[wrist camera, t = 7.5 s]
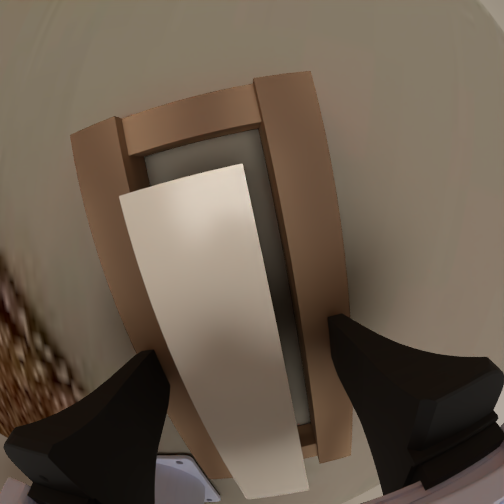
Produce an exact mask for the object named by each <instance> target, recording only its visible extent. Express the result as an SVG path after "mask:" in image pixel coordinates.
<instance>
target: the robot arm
mask: <svg viewBox="0 0 504 504" xmlns="http://www.w3.org/2000/svg"><path fill="white" fill-rule="evenodd" d="M327 319H328V329H329V339H330V350H331V358H332V361H333V364H334V367H335V370H336V372H337V375H338V377H339V379H340V381H341V383H342V385H343V387H344V389H345V391H346V393H347V395H348V397H349V399H350V401H351V403H352V405H353V407H354V409H355V411H356V413H357V415H358V417H359V419H360V421H361V424H362V427H363V429H364V432H365V435H366V438H367V441H368V444H369V447H370V450H371V453H372V456H373V459H374V463H375V466H376V470H377V473H378V477H379V480H380V484H381V488H382V492H383V496H382V497H379V498H376V499H373V500H370V501H367V502H364V503H361V504H504V423H503V424H502V425H501V427H499V425H498V424H497V423H496V421H497V419H498V415H497V414H496V413H495V412H494V410H493V409H494V407H495V405H496V403H497V401H498V398H499V396H500V394H501V391H502V388H503V385H504V374H503V372H502V371H501V370H500V369H499V368H498V367H497V366H496V365H495V364H494V363H493V362H492V361H491V360H490V359H489V358H487V357H457V356H448V355H441V354H435V353H430V352H426V351H421V350H418V349H414V348H411V347H408V346H405V345H402V344H399V343H397V342H394V341H392V340H390V339H388V338H385V337H383V336H381V335H379V334H377V333H375V332H373V331H371V330H370V329H368V328H366V327H364V326H362V325H361V324H359V323H357V322H356V321H354V320H352V319H351V318H349V317H347V316H346V315H344V314H342V313H341V314H337V315H333V316H330V317H327ZM169 397H170V383H169V381H168V379H167V377H166V375H165V373H164V371H163V369H162V366H161V364H160V362H159V360H158V357H157V355H156V353H155V351H154V349H153V350H145V351H141V352H139V353H138V354H136V355H135V356H134V357H133V358H132V359H131V360H129V361H128V362H127V363H126V364H125V365H124V366H123V367H122V368H120V369H119V370H118V371H117V372H116V373H115V374H114V375H113V376H111V377H110V378H109V379H108V380H107V381H105V382H104V383H103V384H102V385H101V386H99V387H98V388H97V389H96V390H94V391H93V392H92V393H90V394H89V395H88V396H86V397H85V398H83V399H82V400H80V401H78V402H77V403H75V404H73V405H72V406H70V407H68V408H66V409H64V410H62V411H61V412H59V413H57V414H54V415H52V416H50V417H47V418H45V419H42V420H39V421H37V422H33V423H30V424H26V425H23V426H19V427H16V428H15V429H14V430H13V431H12V433H11V434H10V436H9V437H8V439H7V441H6V442H5V444H4V450H5V452H6V454H7V455H8V457H9V458H10V459H11V461H12V462H13V463H14V464H15V465H16V466H17V467H18V468H19V469H20V470H21V471H22V472H23V473H24V474H25V475H26V476H27V477H28V478H29V479H30V480H32V482H33V484H32V486H31V487H30V486H28V485H27V484H25V483H23V482H21V481H19V480H16V479H14V478H12V477H8V479H7V480H6V482H5V484H4V486H3V488H2V490H1V492H0V504H204V502H218V501H220V500H221V497H220V495H219V494H218V493H217V491H216V490H215V489H214V487H213V486H212V485H211V483H210V482H209V481H208V479H207V478H206V477H205V475H204V474H203V472H202V471H201V470H200V468H199V467H198V465H197V464H196V462H195V461H194V459H193V458H192V457H190V456H187V455H157V452H158V446H159V442H160V438H161V434H162V430H163V426H164V422H165V418H166V414H167V410H168V405H169Z"/></svg>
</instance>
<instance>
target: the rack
mask: <svg viewBox="0 0 504 504" xmlns="http://www.w3.org/2000/svg"><path fill="white" fill-rule="evenodd" d="M253 129H259V133H260V138H261V143H262V147H263V152H264V157H265V161H266V166H267V171H268V176H269V181H270V185H271V190H272V195H273V200H274V205H275V211H276V216H277V221H278V226H279V231H280V236H281V242H282V247H283V253H284V258H285V263H286V269H287V275H288V280H289V286H290V292H291V297H292V303H293V309H294V315H295V321H296V327H297V333H298V339H299V346H300V352H301V358H302V365H303V371H304V378H305V385H306V392H307V399H308V406H309V413H310V420H311V423H310V424H305V425H301V426H297V429H298V434H299V439H300V444H301V450H302V455H303V459H305V458H309V457H314V456H318V459H319V463H324V462H328V461H332V460H336V459H340V458H343V457H347V456H350V455H351V442H352V411H353V405H352V403H351V401H350V399H349V397H348V395H347V393H346V391H345V389H344V387H343V385H342V383H341V381H340V379H339V377H338V375H337V372H336V370H335V367H334V364H333V361H332V358H331V350H330V339H329V329H328V319H327V317H330V316H333V315H337V314H341V313H342V314H344V315H346V316H347V317H349V318H350V306H349V293H348V281H347V271H346V261H345V252H344V244H343V236H342V228H341V220H340V213H339V207H338V200H337V194H336V187H335V181H334V176H333V170H332V165H331V159H330V154H329V149H328V144H327V139H326V134H325V129H324V125H323V120H322V116H321V111H320V107H319V103H318V99H317V94H316V90H315V86H314V83H313V79H312V75H311V71H305V72H296V73H287V74H279V75H272V76H265V77H259V78H254V79H253V84H249V85H244V86H238V87H233V88H228V89H224V90H219V91H214V92H210V93H206V94H202V95H198V96H194V97H190V98H186V99H182V100H179V101H175V102H172V103H168V104H165V105H162V106H158V107H155V108H152V109H149V110H146V111H143V112H140V113H137V114H134V115H131V116H128V117H126V118H123V119H121V118H118V117H115V116H114V117H111V118H109V119H106V120H104V121H101V122H99V123H96V124H94V125H92V126H89V127H87V128H85V129H82V130H80V131H78V132H76V133H73V134H71V135H70V138H71V144H72V150H73V156H74V161H75V166H76V171H77V176H78V181H79V186H80V190H81V194H82V198H83V203H84V207H85V211H86V214H87V218H88V222H89V226H90V229H91V233H92V236H93V240H94V243H95V246H96V249H97V253H98V256H99V259H100V262H101V265H102V268H103V271H104V274H105V277H106V280H107V282H108V285H109V288H110V291H111V293H112V296H113V299H114V301H115V304H116V307H117V309H118V312H119V314H120V317H121V319H122V321H123V324H124V326H125V329H126V331H127V333H128V336H129V338H130V340H131V342H132V345H133V347H134V349H135V351H136V353H137V354H138V353H139V352H141V351H145V350H153V349H154V351H155V353H156V355H157V357H158V360H159V362H160V364H161V366H162V369H163V371H164V373H165V375H166V377H167V379H168V381H169V383H170V397H169V405H168V410H167V414H168V415H169V417H170V419H171V421H172V422H173V424H174V426H175V427H176V429H177V431H178V432H179V434H180V436H181V437H182V439H183V441H184V442H185V444H186V445H187V447H188V448H189V450H190V452H191V453H192V455H193V456H194V458H195V459H196V461H197V462H198V464H199V465H200V467H201V468H202V469H203V471H204V472H205V474H206V475H207V477H208V478H209V479H222V478H233V476H232V475H231V473H230V471H229V470H228V468H227V466H226V464H225V463H224V461H223V459H222V457H221V456H220V454H219V452H218V450H217V448H216V447H215V445H214V443H213V441H212V439H211V437H210V436H209V434H208V432H207V430H206V428H205V426H204V424H203V422H202V420H201V418H200V416H199V414H198V412H197V410H196V408H195V406H194V404H193V402H192V400H191V398H190V396H189V393H188V391H187V389H186V387H185V385H184V383H183V380H182V378H181V376H180V374H179V371H178V369H177V367H176V365H175V362H174V360H173V358H172V355H171V353H170V350H169V348H168V346H167V343H166V341H165V338H164V336H163V333H162V331H161V328H160V325H159V323H158V320H157V317H156V315H155V312H154V309H153V307H152V304H151V301H150V298H149V296H148V293H147V290H146V287H145V284H144V281H143V278H142V275H141V272H140V269H139V266H138V263H137V259H136V256H135V253H134V250H133V246H132V243H131V240H130V236H129V233H128V229H127V225H126V222H125V218H124V214H123V211H122V207H121V203H120V199H119V196H121V195H124V194H127V193H131V192H134V191H137V190H140V189H144V188H147V187H150V183H149V179H148V175H147V170H146V166H145V161H144V157H145V156H148V155H151V154H155V153H158V152H162V151H165V150H169V149H172V148H176V147H179V146H183V145H187V144H191V143H195V142H199V141H203V140H207V139H211V138H215V137H219V136H224V135H228V134H233V133H238V132H243V131H248V130H253Z"/></svg>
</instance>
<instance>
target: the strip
mask: <svg viewBox="0 0 504 504" xmlns="http://www.w3.org/2000/svg"><path fill="white" fill-rule="evenodd" d="M119 199H120V203H121V207H122V211H123V214H124V218H125V222H126V225H127V229H128V233H129V236H130V240H131V243H132V246H133V250H134V253H135V256H136V259H137V263H138V266H139V269H140V272H141V275H142V278H143V281H144V284H145V287H146V290H147V293H148V296H149V298H150V301H151V304H152V307H153V309H154V312H155V315H156V317H157V320H158V323H159V325H160V328H161V331H162V333H163V336H164V338H165V341H166V343H167V346H168V348H169V350H170V353H171V355H172V358H173V360H174V362H175V365H176V367H177V369H178V371H179V374H180V376H181V378H182V380H183V383H184V385H185V387H186V389H187V391H188V393H189V396H190V398H191V400H192V402H193V404H194V406H195V408H196V410H197V412H198V414H199V416H200V418H201V420H202V422H203V424H204V426H205V428H206V430H207V432H208V434H209V436H210V437H211V439H212V441H213V443H214V445H215V447H216V448H217V450H218V452H219V454H220V456H221V457H222V459H223V461H224V463H225V464H226V466H227V468H228V470H229V471H230V473H231V475H232V476H233V478H234V480H235V481H236V483H237V484H238V486H239V488H240V489H241V491H242V492H243V494H244V496H245V497H246V499H256V498H264V497H271V496H278V495H284V494H290V493H296V492H301V491H306V490H309V486H308V481H307V476H306V470H305V465H304V460H303V455H302V450H301V444H300V439H299V434H298V429H297V424H296V419H295V414H294V409H293V404H292V398H291V393H290V388H289V383H288V378H287V373H286V368H285V363H284V359H283V354H282V349H281V344H280V339H279V334H278V329H277V324H276V319H275V314H274V310H273V305H272V300H271V295H270V290H269V285H268V281H267V276H266V271H265V266H264V262H263V257H262V252H261V247H260V243H259V238H258V233H257V229H256V224H255V219H254V214H253V210H252V205H251V201H250V196H249V191H248V187H247V182H246V177H245V173H244V168H243V164H238V165H233V166H229V167H224V168H220V169H216V170H212V171H207V172H203V173H199V174H195V175H191V176H187V177H183V178H180V179H176V180H172V181H168V182H165V183H161V184H158V185H154V186H151V187H147V188H144V189H140V190H137V191H134V192H131V193H127V194H124V195H121V196H119Z"/></svg>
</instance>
